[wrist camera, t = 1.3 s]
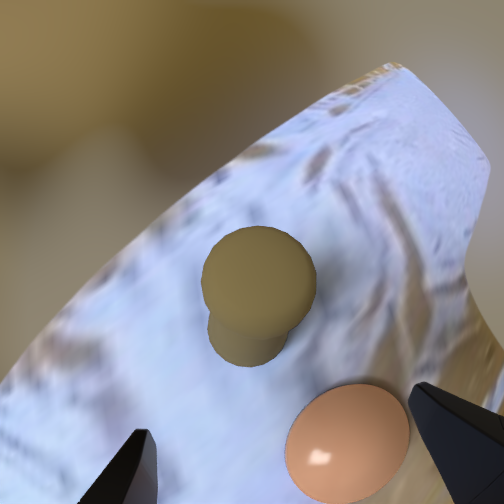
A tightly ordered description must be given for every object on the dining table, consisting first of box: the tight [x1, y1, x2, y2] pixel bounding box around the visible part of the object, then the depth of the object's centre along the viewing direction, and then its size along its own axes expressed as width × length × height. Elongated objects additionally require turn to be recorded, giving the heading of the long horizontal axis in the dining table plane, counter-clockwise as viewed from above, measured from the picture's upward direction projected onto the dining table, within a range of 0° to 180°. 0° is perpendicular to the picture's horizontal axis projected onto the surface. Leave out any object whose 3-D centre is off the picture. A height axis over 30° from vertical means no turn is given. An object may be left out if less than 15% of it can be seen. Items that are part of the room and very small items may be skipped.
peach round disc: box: [285, 384, 410, 504], centre depth 17 cm, size 10×10×1 cm
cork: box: [201, 226, 316, 367], centre depth 17 cm, size 6×6×11 cm
